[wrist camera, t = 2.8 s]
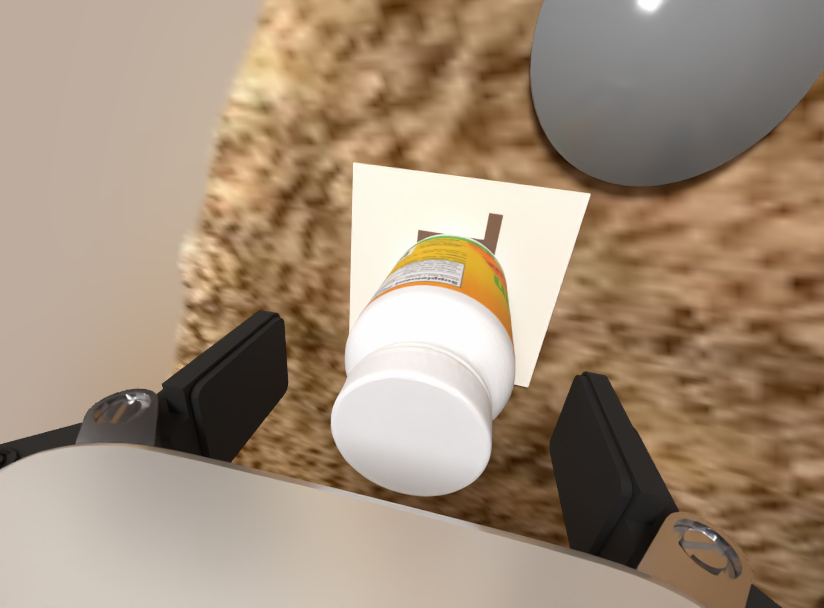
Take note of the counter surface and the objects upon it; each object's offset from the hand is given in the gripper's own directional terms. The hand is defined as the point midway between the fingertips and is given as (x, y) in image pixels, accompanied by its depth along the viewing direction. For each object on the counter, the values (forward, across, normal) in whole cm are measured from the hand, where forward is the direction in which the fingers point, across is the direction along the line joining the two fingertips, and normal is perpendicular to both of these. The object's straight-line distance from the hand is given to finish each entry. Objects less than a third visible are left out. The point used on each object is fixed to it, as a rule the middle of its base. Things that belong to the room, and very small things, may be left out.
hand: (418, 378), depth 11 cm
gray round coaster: (+7, -6, -10) cm, 14 cm away
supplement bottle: (+7, 0, 0) cm, 7 cm away
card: (+7, 0, 0) cm, 7 cm away
